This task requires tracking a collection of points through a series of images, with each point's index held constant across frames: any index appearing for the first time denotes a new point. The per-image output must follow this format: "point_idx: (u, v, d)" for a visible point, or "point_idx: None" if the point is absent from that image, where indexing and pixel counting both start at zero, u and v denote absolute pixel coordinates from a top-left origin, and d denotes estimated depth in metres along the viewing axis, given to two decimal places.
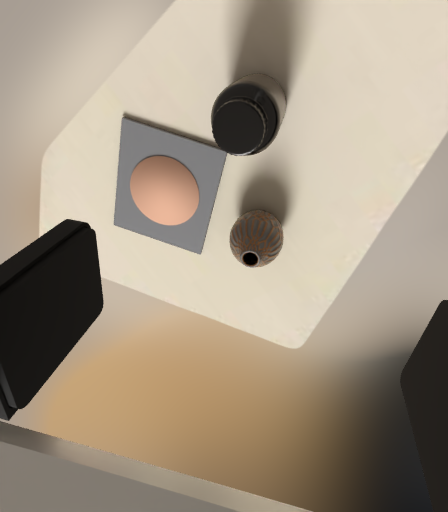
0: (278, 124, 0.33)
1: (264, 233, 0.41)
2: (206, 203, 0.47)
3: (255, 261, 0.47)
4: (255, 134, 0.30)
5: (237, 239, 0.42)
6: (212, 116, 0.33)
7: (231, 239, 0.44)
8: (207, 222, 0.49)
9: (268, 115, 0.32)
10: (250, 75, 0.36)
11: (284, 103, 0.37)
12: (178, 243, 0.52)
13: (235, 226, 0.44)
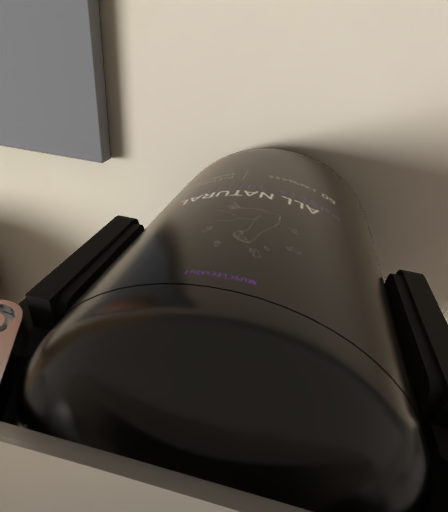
0: None
1: None
2: None
3: None
4: None
5: None
6: (175, 358, 0.04)
7: None
8: None
9: None
10: None
11: None
12: None
13: None
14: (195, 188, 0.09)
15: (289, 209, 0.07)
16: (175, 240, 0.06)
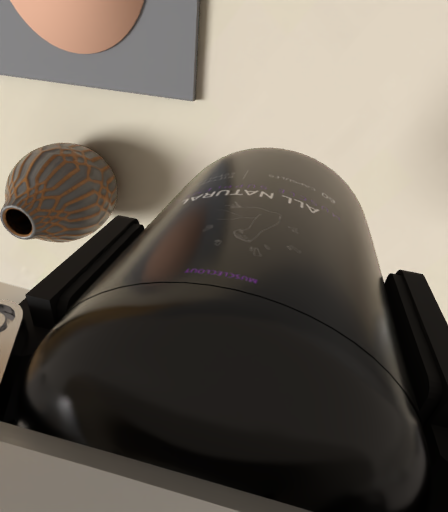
0: None
1: (78, 222, 0.24)
2: (86, 72, 0.24)
3: None
4: None
5: (44, 180, 0.22)
6: (176, 356, 0.04)
7: (38, 162, 0.22)
8: (51, 79, 0.25)
9: None
10: None
11: None
12: None
13: (67, 160, 0.23)
14: (195, 187, 0.09)
15: (290, 208, 0.07)
16: (175, 239, 0.06)
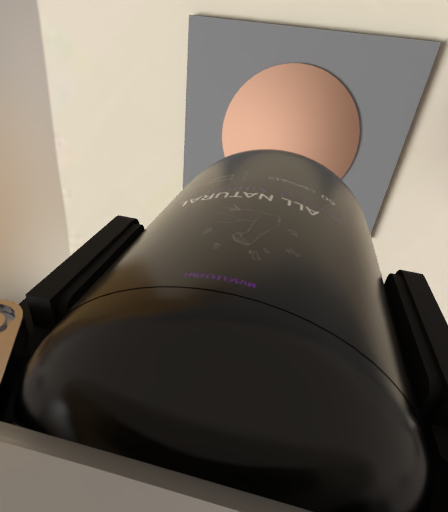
0: None
1: None
2: None
3: None
4: None
5: None
6: (174, 362, 0.04)
7: None
8: None
9: None
10: None
11: None
12: (190, 168, 0.29)
13: None
14: (194, 189, 0.08)
15: (288, 211, 0.07)
16: (174, 242, 0.06)
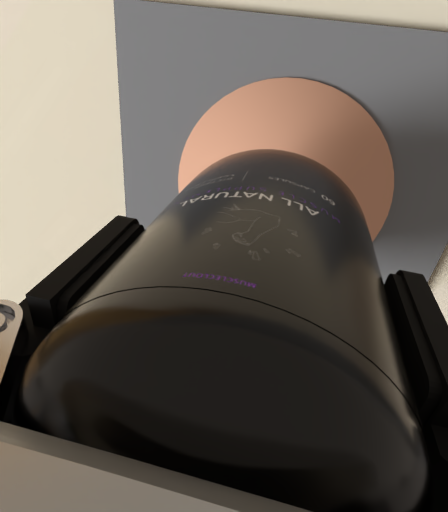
0: None
1: None
2: None
3: None
4: None
5: None
6: (174, 362, 0.04)
7: None
8: None
9: None
10: None
11: None
12: None
13: None
14: (194, 189, 0.08)
15: (289, 211, 0.07)
16: (173, 242, 0.06)
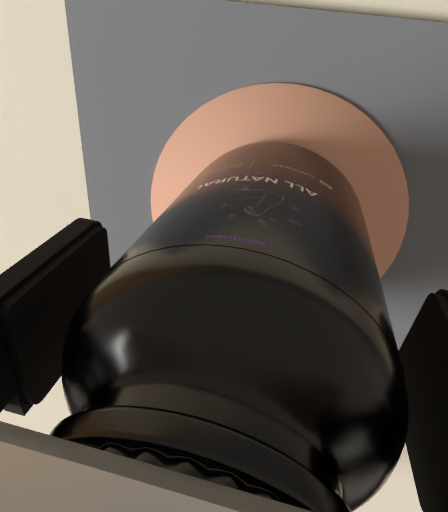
0: None
1: None
2: None
3: None
4: None
5: None
6: (203, 296, 0.05)
7: None
8: None
9: None
10: None
11: None
12: None
13: None
14: (207, 176, 0.10)
15: (291, 191, 0.08)
16: (195, 215, 0.07)
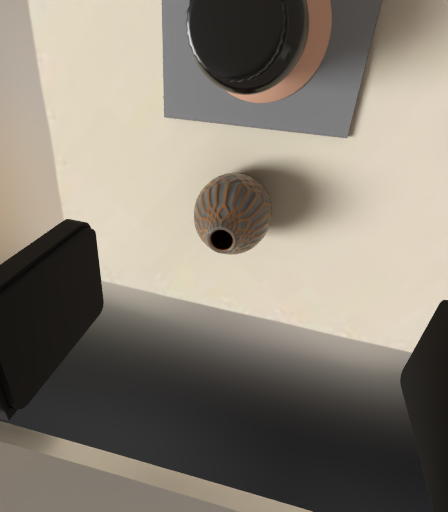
0: (250, 93, 0.21)
1: (256, 238, 0.29)
2: (258, 116, 0.30)
3: None
4: (231, 65, 0.17)
5: (239, 206, 0.28)
6: None
7: (230, 191, 0.28)
8: (225, 122, 0.30)
9: (262, 74, 0.19)
10: None
11: None
12: (170, 72, 0.29)
13: (249, 188, 0.29)
14: None
15: None
16: None
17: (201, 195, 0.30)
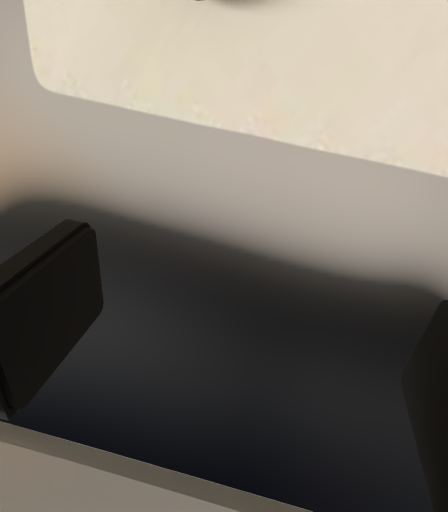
0: None
1: None
2: None
3: None
4: None
5: None
6: None
7: None
8: None
9: None
10: None
11: None
12: None
13: None
14: None
15: None
16: None
17: None
